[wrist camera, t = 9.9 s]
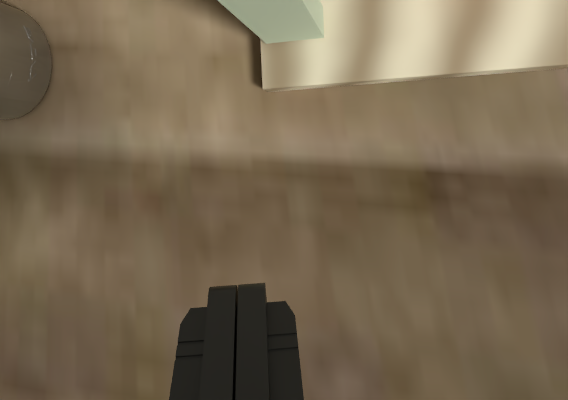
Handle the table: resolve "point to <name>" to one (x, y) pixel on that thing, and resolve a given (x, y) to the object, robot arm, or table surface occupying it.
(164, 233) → the table surface
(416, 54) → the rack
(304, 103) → the table surface
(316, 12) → the pale green block
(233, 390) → the robot arm
